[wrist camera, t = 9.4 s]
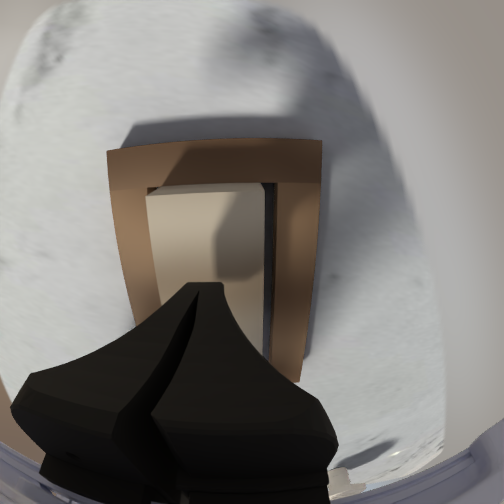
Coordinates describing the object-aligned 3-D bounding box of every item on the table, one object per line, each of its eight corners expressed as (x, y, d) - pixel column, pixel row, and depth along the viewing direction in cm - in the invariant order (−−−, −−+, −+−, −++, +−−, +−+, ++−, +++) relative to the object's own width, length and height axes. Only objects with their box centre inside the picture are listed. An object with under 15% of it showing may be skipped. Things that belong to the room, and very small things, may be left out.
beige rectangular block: (257, 311, 17) (262, 356, 13) (185, 312, 17) (173, 356, 13) (257, 177, 14) (264, 191, 10) (170, 181, 13) (145, 196, 10)
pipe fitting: (337, 478, 31) (346, 517, 23) (304, 477, 29) (311, 521, 22) (366, 462, 29) (378, 503, 21) (334, 462, 27) (345, 509, 20)
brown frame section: (296, 367, 18) (299, 382, 17) (159, 367, 18) (154, 382, 17) (313, 140, 13) (322, 140, 11) (119, 149, 12) (106, 150, 11)
